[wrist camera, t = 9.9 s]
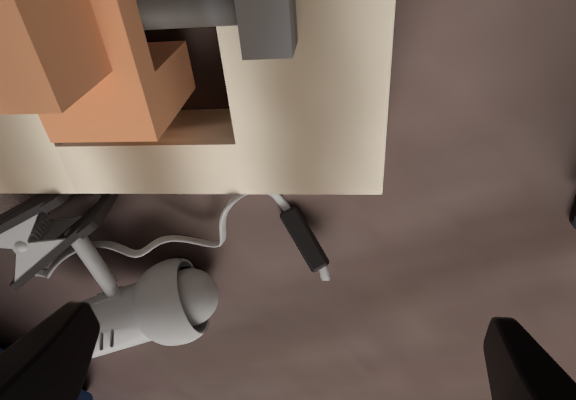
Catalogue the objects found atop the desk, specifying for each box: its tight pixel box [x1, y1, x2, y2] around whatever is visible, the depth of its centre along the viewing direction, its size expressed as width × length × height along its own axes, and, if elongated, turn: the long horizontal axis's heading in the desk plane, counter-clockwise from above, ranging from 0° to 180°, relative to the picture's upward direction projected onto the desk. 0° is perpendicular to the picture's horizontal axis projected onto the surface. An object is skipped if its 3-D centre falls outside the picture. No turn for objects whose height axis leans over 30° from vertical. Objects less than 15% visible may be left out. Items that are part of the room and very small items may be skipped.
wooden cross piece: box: [0, 0, 196, 143], centre depth 13 cm, size 4×8×8 cm, turn 4°
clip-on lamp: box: [0, 194, 331, 358], centre depth 24 cm, size 12×6×18 cm
